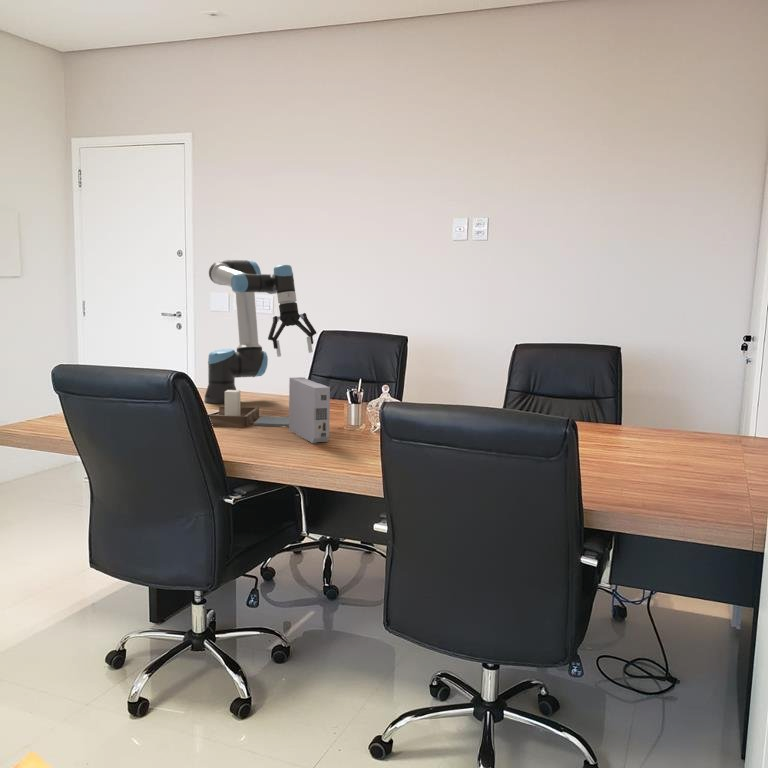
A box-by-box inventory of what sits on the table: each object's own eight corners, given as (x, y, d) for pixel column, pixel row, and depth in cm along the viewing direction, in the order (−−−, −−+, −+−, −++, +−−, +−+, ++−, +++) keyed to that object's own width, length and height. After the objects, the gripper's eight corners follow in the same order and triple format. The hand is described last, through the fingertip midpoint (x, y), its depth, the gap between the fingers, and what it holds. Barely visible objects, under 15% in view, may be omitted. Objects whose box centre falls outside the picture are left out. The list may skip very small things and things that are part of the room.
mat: (261, 418, 311) (261, 416, 311) (296, 419, 310) (296, 417, 310) (253, 425, 296) (253, 423, 296) (289, 427, 296) (289, 424, 295)
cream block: (227, 419, 307) (227, 389, 305) (240, 420, 307) (240, 390, 305) (224, 422, 302) (224, 391, 300) (237, 422, 302) (237, 392, 300)
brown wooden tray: (219, 415, 315) (219, 405, 315) (259, 417, 314) (259, 407, 314) (204, 425, 294) (204, 415, 294) (246, 426, 293) (246, 416, 293)
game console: (303, 429, 292) (304, 377, 289) (329, 444, 268) (330, 387, 265) (288, 430, 290) (289, 377, 287) (313, 445, 265) (314, 387, 263)
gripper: (260, 304, 308) (268, 357, 309) (319, 299, 318) (326, 350, 319) (255, 307, 315) (263, 358, 315) (313, 301, 325) (320, 351, 326)
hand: (295, 354), depth 317 cm, fingers open, 13 cm apart
